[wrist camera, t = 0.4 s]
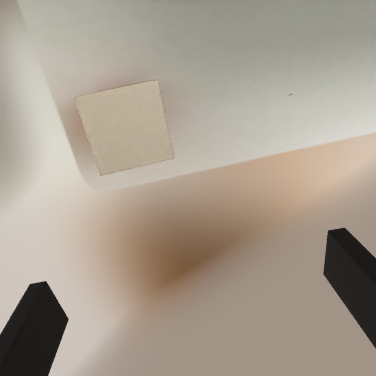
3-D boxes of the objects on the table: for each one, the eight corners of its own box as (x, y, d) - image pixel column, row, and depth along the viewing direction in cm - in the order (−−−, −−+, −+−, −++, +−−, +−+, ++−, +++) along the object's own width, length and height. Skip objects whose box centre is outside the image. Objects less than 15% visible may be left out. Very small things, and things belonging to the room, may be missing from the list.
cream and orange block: (161, 134, 30) (174, 158, 20) (112, 145, 29) (100, 176, 19) (149, 82, 28) (157, 79, 18) (96, 93, 27) (73, 96, 17)
